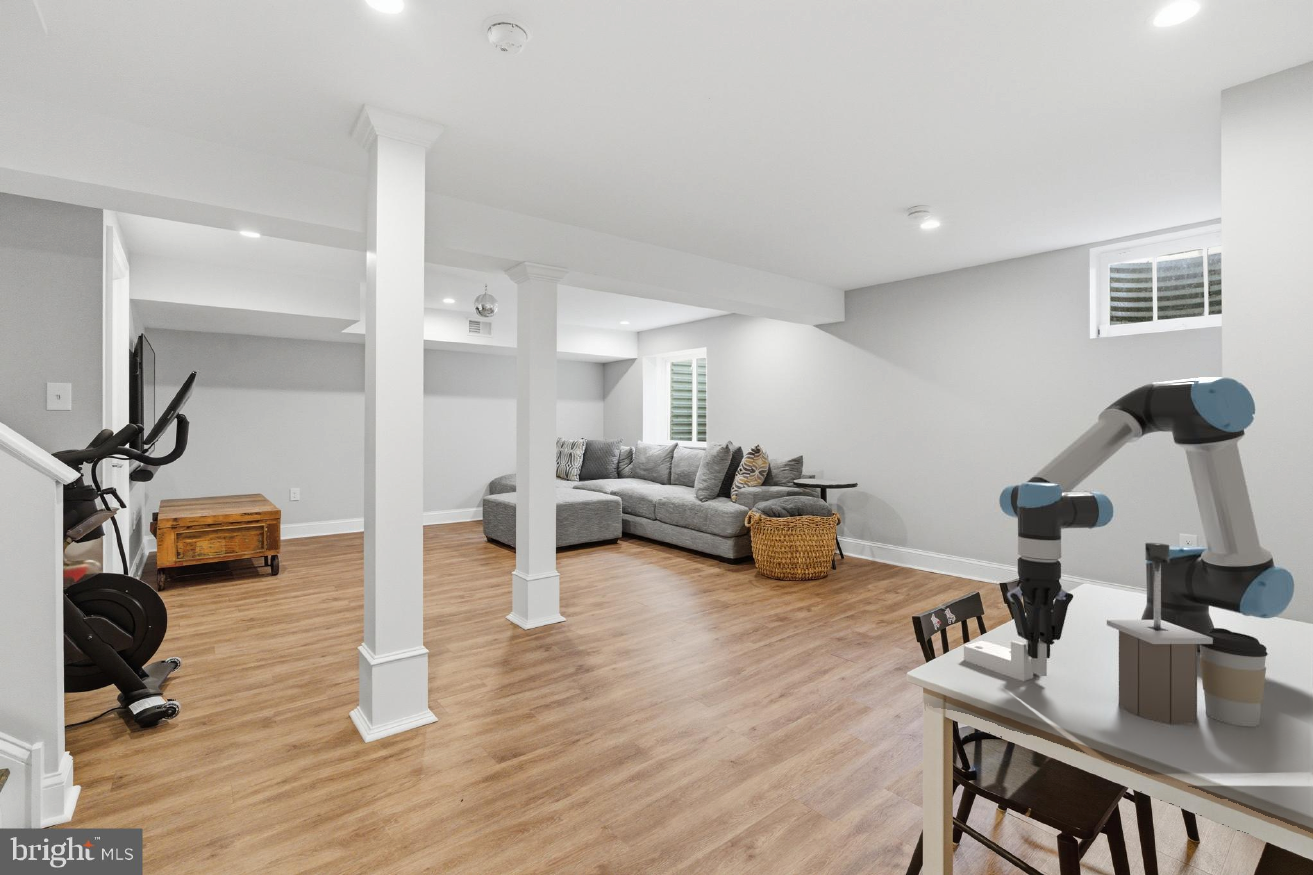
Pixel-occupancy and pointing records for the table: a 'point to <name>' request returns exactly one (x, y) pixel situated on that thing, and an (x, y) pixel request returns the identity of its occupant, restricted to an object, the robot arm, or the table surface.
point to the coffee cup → (1233, 676)
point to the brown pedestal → (1158, 670)
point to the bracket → (1001, 658)
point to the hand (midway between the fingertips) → (1038, 673)
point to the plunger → (1157, 575)
